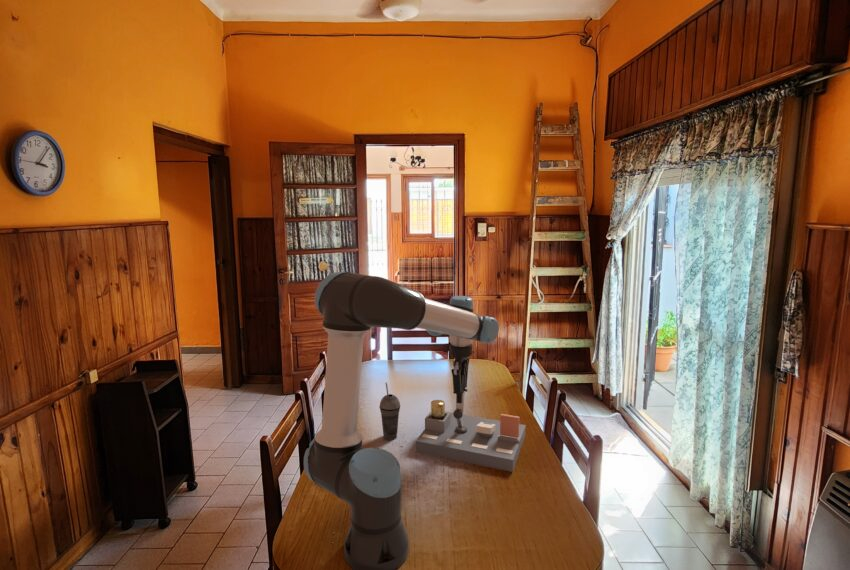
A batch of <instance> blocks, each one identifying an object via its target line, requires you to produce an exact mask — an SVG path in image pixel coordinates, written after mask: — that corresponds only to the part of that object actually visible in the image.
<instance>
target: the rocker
mask: <svg viewBox="0 0 850 570" xmlns="http://www.w3.org/2000/svg"><path fill="white" fill-rule="evenodd" d="M494 431H495V424H491V423H485V422H480V423H479V424H478V425H476V432H480V433H485V434H492V433H493V432H494Z"/></svg>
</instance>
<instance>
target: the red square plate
mask: <svg viewBox="0 0 850 570" xmlns="http://www.w3.org/2000/svg"><path fill="white" fill-rule="evenodd" d="M499 421H500V435H504V436H509V437H515V438H518V437H519V424H520V416H518V415H510V414H507V413H506V414H505V413H501V414H500V420H499Z"/></svg>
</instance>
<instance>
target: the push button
mask: <svg viewBox="0 0 850 570" xmlns="http://www.w3.org/2000/svg"><path fill="white" fill-rule="evenodd" d="M430 412H431V418H432V419H438V420H443V419H444V418H445V412H446V401H444V400H442V399H433V400H432V401H430Z"/></svg>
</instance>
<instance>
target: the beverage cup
mask: <svg viewBox="0 0 850 570" xmlns="http://www.w3.org/2000/svg"><path fill="white" fill-rule="evenodd" d="M388 387H389V386H388V382H385V388H386V394H385V395H384V396H383V397H382V398H381V400H380V402H379V407H378V408H379V411H380V415H381V416H380V417H381V423H382V424H381V425H382V434H383V438H384V440H385V441H394V440H396V439H397V437H398V430H399V429H398V428H399V427H398V426H399V418H400V417H399V414H400V410H401V402H400V400H399V398H398V396H396V395H394V394H391V393H389V389H388Z"/></svg>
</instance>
